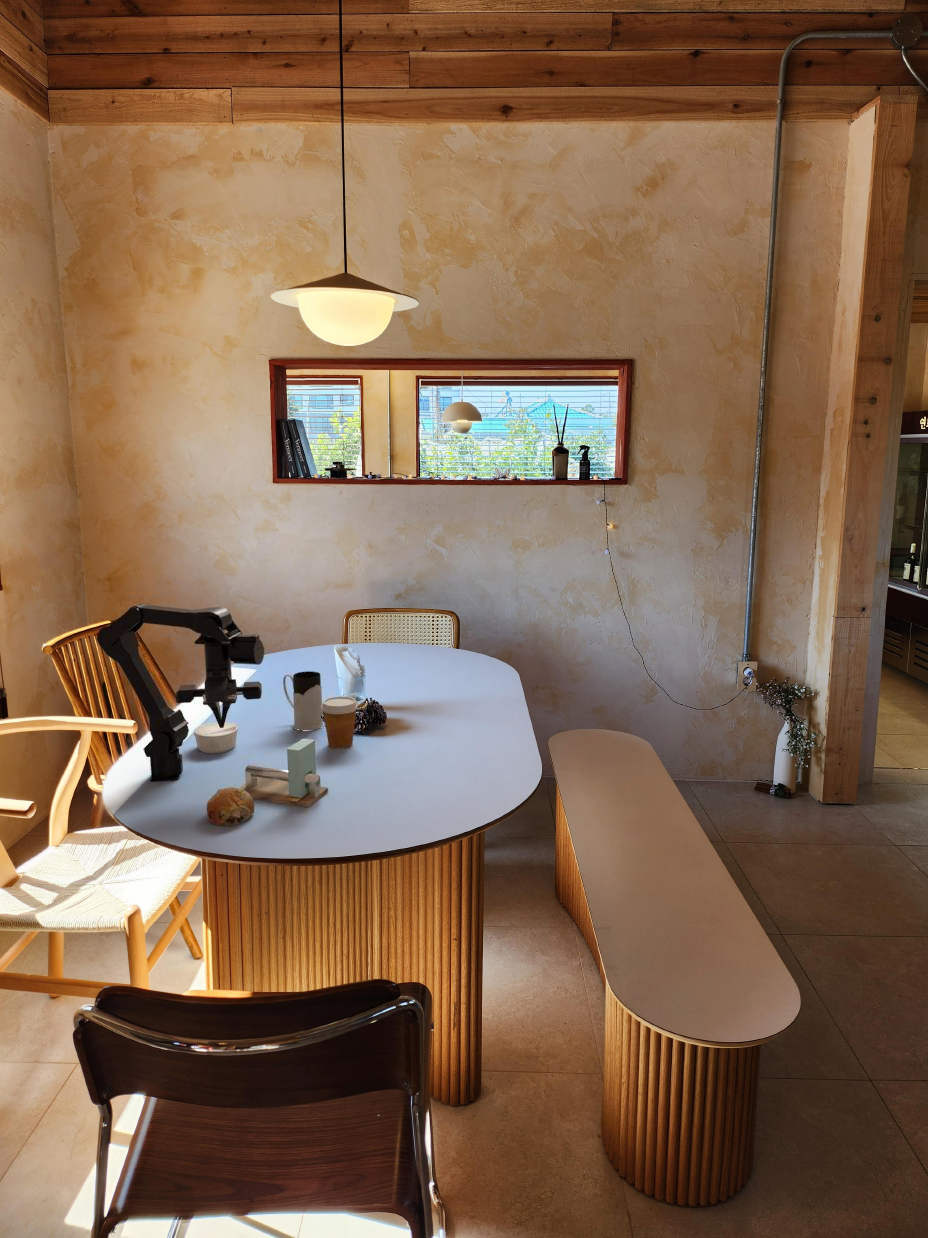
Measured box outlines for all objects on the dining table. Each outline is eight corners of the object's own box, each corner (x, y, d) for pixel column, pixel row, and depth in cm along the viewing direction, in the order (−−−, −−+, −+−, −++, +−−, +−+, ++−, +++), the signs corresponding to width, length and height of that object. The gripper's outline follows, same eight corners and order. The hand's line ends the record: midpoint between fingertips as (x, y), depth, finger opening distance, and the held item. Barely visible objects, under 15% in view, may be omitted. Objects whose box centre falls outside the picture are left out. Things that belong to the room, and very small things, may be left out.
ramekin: (226, 756, 212) (225, 737, 211) (186, 753, 214) (185, 734, 213) (246, 742, 223) (245, 723, 221) (208, 739, 225) (206, 720, 224)
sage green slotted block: (289, 796, 184) (287, 748, 182) (304, 784, 191) (303, 738, 188) (300, 797, 183) (299, 750, 181) (316, 786, 190) (314, 740, 187)
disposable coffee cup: (324, 752, 215) (323, 708, 212) (320, 740, 224) (319, 697, 221) (361, 749, 217) (360, 705, 215) (355, 737, 226) (354, 694, 224)
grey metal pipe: (245, 786, 190) (244, 767, 189) (251, 782, 193) (250, 763, 192) (315, 797, 184) (314, 777, 184) (321, 793, 187) (320, 773, 186)
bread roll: (258, 825, 181) (259, 788, 183) (247, 825, 171) (249, 786, 173) (212, 826, 181) (214, 788, 183) (199, 826, 171) (201, 786, 173)
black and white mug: (307, 733, 229) (305, 680, 226) (273, 723, 238) (271, 672, 235) (330, 725, 236) (329, 674, 233) (297, 715, 244) (295, 666, 241)
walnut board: (233, 795, 188) (233, 790, 188) (256, 781, 196) (255, 776, 196) (308, 807, 182) (308, 802, 181) (328, 791, 190) (327, 787, 190)
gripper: (170, 673, 182) (175, 741, 185) (258, 669, 185) (261, 736, 188) (177, 661, 192) (182, 725, 195) (260, 657, 196) (263, 721, 199)
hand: (221, 727), depth 194 cm, fingers closed
